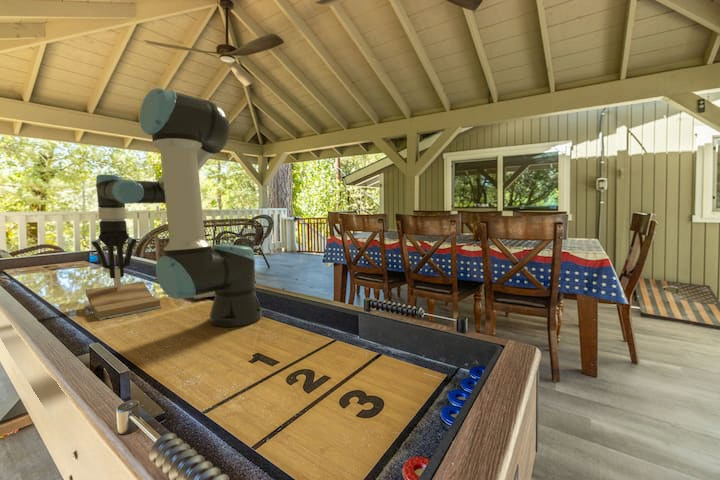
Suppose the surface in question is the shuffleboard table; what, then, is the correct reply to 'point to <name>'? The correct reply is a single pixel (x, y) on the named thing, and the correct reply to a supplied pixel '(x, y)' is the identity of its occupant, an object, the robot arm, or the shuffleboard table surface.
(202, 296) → the stone slab
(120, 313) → the wooden card stand
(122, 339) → the shuffleboard table surface
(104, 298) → the wavy wooden board
